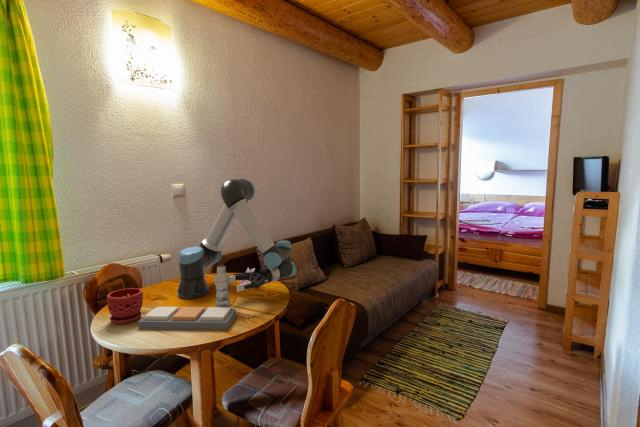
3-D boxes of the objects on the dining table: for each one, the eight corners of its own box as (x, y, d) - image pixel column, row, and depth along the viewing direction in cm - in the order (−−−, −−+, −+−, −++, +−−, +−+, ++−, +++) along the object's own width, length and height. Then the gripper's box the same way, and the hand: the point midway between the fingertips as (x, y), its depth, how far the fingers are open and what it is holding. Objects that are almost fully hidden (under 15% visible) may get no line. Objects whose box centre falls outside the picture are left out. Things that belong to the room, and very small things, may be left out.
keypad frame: (155, 314, 146) (155, 308, 145) (236, 315, 144) (236, 309, 144) (138, 328, 133) (137, 321, 132) (226, 329, 131) (226, 322, 131)
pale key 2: (209, 311, 143) (208, 307, 142) (230, 311, 142) (230, 307, 142) (200, 321, 133) (200, 316, 133) (223, 321, 133) (223, 317, 133)
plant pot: (140, 323, 137) (138, 296, 136) (104, 328, 134) (101, 299, 132) (147, 311, 150) (145, 285, 148) (114, 314, 146) (112, 288, 145)
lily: (240, 283, 188) (233, 271, 183) (259, 274, 191) (252, 262, 186) (244, 296, 178) (236, 284, 173) (264, 286, 181) (257, 274, 176)
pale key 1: (157, 311, 144) (156, 306, 143) (178, 311, 143) (178, 306, 143) (144, 320, 134) (144, 316, 134) (167, 321, 134) (167, 316, 134)
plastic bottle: (233, 307, 153) (231, 265, 150) (224, 313, 147) (222, 269, 144) (221, 305, 155) (219, 264, 153) (212, 311, 149) (210, 268, 146)
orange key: (183, 311, 143) (182, 306, 143) (204, 311, 143) (204, 307, 142) (172, 321, 134) (172, 316, 133) (195, 321, 133) (195, 316, 133)
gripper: (283, 288, 157) (244, 300, 143) (255, 276, 175) (217, 286, 161) (283, 273, 156) (243, 283, 142) (254, 262, 174) (216, 271, 160)
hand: (229, 284), depth 151 cm, fingers open, 13 cm apart
